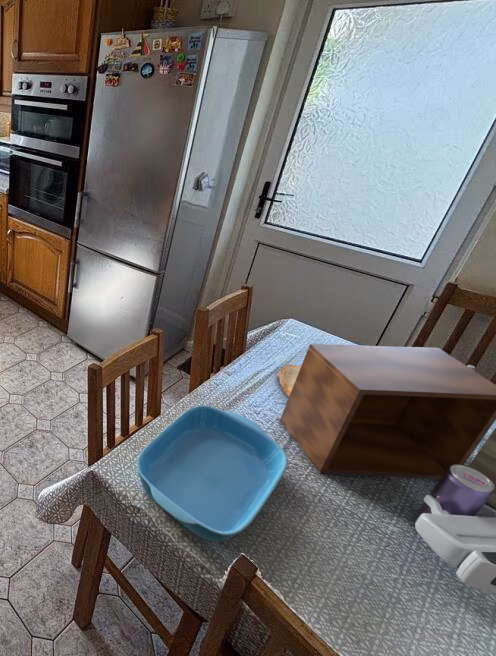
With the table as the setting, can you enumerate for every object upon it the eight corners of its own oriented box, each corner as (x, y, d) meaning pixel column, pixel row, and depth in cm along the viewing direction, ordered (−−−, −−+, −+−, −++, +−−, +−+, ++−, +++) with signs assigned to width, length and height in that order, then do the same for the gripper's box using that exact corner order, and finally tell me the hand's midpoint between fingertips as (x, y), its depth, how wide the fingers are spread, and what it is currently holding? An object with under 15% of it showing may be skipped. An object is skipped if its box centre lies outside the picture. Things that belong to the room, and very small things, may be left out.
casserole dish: (218, 579, 74) (228, 556, 71) (114, 492, 90) (118, 469, 87) (292, 469, 95) (302, 447, 92) (197, 413, 111) (202, 393, 108)
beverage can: (454, 550, 78) (495, 498, 72) (411, 526, 82) (446, 475, 76) (457, 530, 82) (497, 478, 75) (416, 508, 86) (450, 458, 79)
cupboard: (453, 480, 92) (512, 395, 81) (319, 472, 94) (360, 389, 83) (395, 425, 106) (438, 347, 96) (279, 419, 108) (310, 343, 98)
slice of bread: (322, 422, 107) (327, 411, 106) (256, 380, 122) (260, 370, 121) (362, 401, 114) (367, 391, 112) (295, 364, 129) (299, 354, 127)
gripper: (612, 569, 65) (516, 490, 77) (471, 560, 66) (400, 483, 79) (587, 592, 67) (499, 512, 80) (452, 582, 69) (386, 505, 81)
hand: (448, 498), depth 79 cm, fingers closed on beverage can, 6 cm apart
